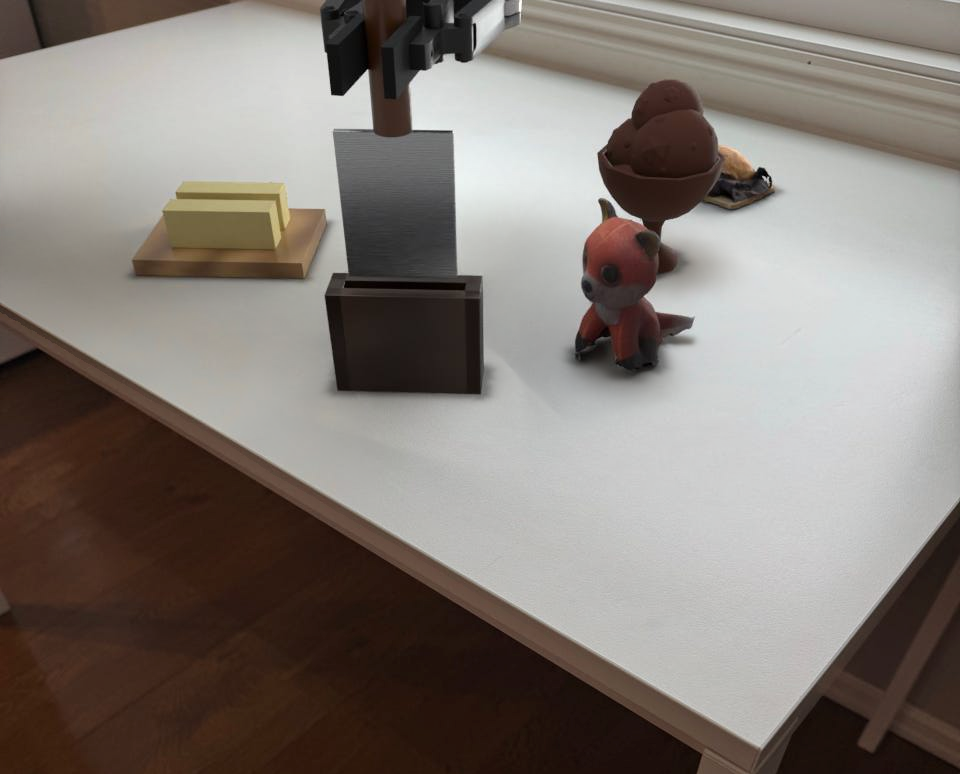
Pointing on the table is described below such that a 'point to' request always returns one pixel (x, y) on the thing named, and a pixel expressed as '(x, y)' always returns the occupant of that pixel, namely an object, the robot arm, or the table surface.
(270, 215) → the butter
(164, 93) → the table surface
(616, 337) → the stuffed fox
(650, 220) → the ice cream bowl
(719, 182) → the tan mound on tray
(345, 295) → the knife block
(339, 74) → the robot arm
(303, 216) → the board
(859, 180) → the table surface
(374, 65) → the cleaver knife
